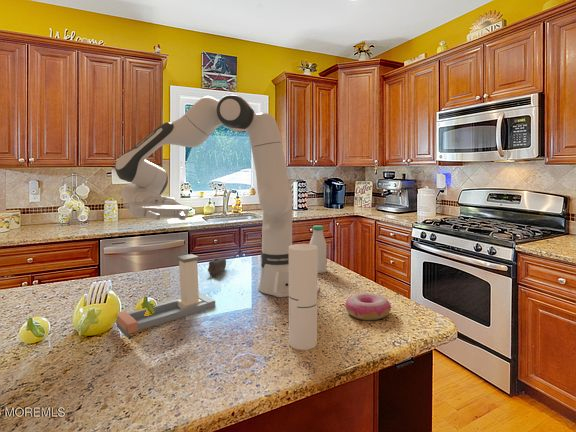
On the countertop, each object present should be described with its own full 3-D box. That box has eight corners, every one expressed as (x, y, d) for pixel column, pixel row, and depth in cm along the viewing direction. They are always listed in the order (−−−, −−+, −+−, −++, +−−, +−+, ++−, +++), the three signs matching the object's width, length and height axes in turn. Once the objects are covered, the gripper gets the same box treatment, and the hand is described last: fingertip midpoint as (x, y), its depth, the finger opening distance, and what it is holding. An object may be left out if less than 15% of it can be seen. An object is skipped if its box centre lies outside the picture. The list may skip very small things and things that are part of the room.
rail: (199, 302, 114) (199, 290, 113) (215, 311, 106) (215, 299, 106) (116, 326, 96) (115, 313, 95) (128, 339, 89) (127, 324, 88)
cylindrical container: (298, 333, 92) (298, 242, 88) (321, 340, 88) (322, 246, 84) (283, 344, 86) (282, 247, 82) (307, 352, 82) (307, 251, 78)
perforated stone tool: (219, 268, 154) (219, 253, 153) (230, 269, 153) (230, 253, 152) (205, 278, 139) (204, 262, 138) (217, 279, 138) (216, 262, 137)
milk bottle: (325, 273, 144) (326, 227, 142) (307, 272, 146) (307, 227, 143) (327, 268, 152) (327, 224, 149) (310, 267, 153) (310, 224, 151)
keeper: (193, 301, 109) (191, 253, 107) (202, 306, 105) (200, 256, 103) (177, 306, 106) (175, 256, 104) (185, 311, 102) (183, 259, 100)
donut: (387, 306, 110) (388, 291, 109) (393, 324, 97) (393, 308, 96) (345, 304, 112) (345, 289, 111) (345, 321, 99) (345, 305, 98)
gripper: (122, 194, 111) (142, 207, 102) (177, 198, 127) (198, 209, 118) (119, 212, 112) (138, 227, 104) (174, 214, 128) (195, 226, 119)
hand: (171, 217), depth 111 cm, fingers open, 8 cm apart
